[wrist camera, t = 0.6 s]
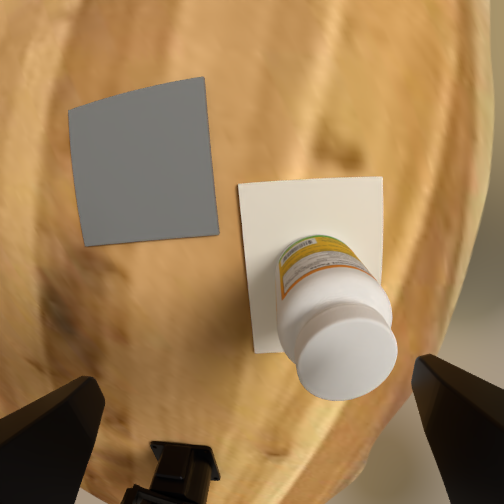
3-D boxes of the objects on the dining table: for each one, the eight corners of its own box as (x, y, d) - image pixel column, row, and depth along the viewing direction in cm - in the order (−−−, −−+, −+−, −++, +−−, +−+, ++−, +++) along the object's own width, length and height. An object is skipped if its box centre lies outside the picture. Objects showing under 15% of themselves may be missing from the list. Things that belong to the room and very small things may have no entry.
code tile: (374, 340, 22) (375, 343, 21) (255, 351, 22) (254, 353, 22) (380, 176, 18) (382, 176, 18) (238, 183, 19) (238, 184, 19)
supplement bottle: (341, 316, 21) (380, 417, 12) (266, 300, 21) (262, 404, 12) (367, 243, 19) (436, 313, 10) (286, 223, 19) (302, 286, 10)
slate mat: (219, 233, 20) (218, 234, 20) (87, 244, 21) (85, 246, 20) (204, 77, 17) (203, 76, 17) (71, 110, 18) (68, 110, 17)
